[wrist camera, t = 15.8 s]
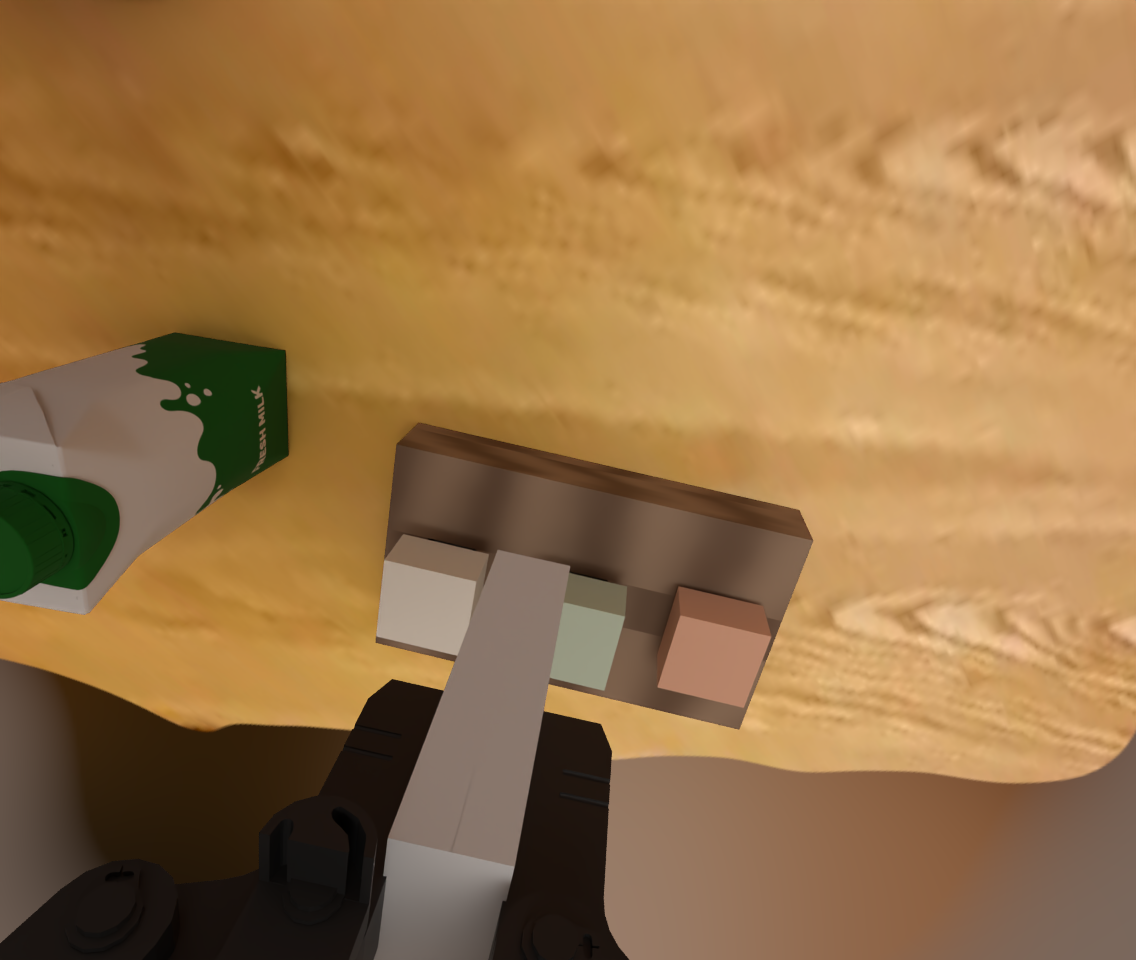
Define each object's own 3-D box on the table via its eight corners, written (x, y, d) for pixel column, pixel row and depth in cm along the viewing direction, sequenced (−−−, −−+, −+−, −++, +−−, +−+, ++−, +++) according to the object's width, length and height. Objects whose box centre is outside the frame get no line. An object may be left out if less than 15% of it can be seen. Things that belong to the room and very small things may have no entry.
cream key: (411, 580, 44) (376, 636, 38) (419, 511, 42) (384, 559, 36) (487, 598, 44) (463, 657, 38) (499, 530, 42) (476, 581, 36)
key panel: (396, 608, 48) (375, 642, 45) (418, 422, 43) (396, 444, 39) (732, 688, 48) (739, 729, 44) (799, 510, 42) (813, 540, 38)
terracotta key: (656, 626, 45) (657, 687, 39) (676, 560, 43) (680, 615, 37) (732, 644, 44) (743, 708, 39) (756, 579, 42) (771, 636, 37)
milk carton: (303, 470, 45) (61, 662, 27) (170, 447, 45) (-157, 620, 27) (300, 337, 41) (20, 451, 23) (156, 313, 42) (-230, 408, 24)
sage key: (533, 609, 44) (516, 669, 38) (547, 541, 42) (531, 594, 36) (610, 627, 43) (604, 690, 38) (628, 560, 41) (625, 616, 36)
